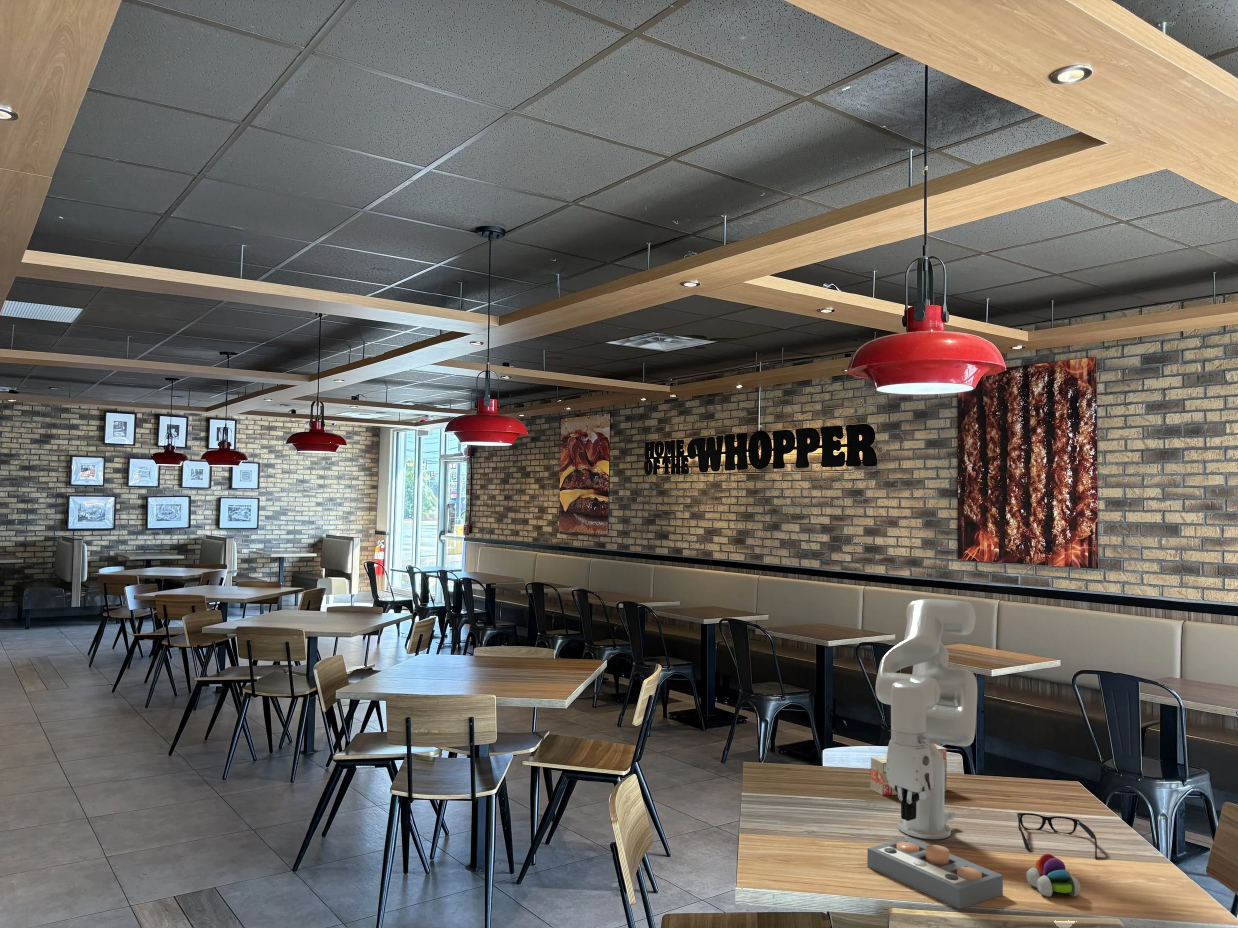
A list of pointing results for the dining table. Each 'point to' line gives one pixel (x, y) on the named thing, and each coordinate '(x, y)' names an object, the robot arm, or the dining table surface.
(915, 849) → the button
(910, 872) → the button board
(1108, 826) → the dining table surface
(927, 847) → the button
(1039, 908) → the dining table surface
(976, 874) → the button
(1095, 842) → the glasses
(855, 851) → the dining table surface
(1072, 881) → the rainbow wheeled toy
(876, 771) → the stack of blocks
